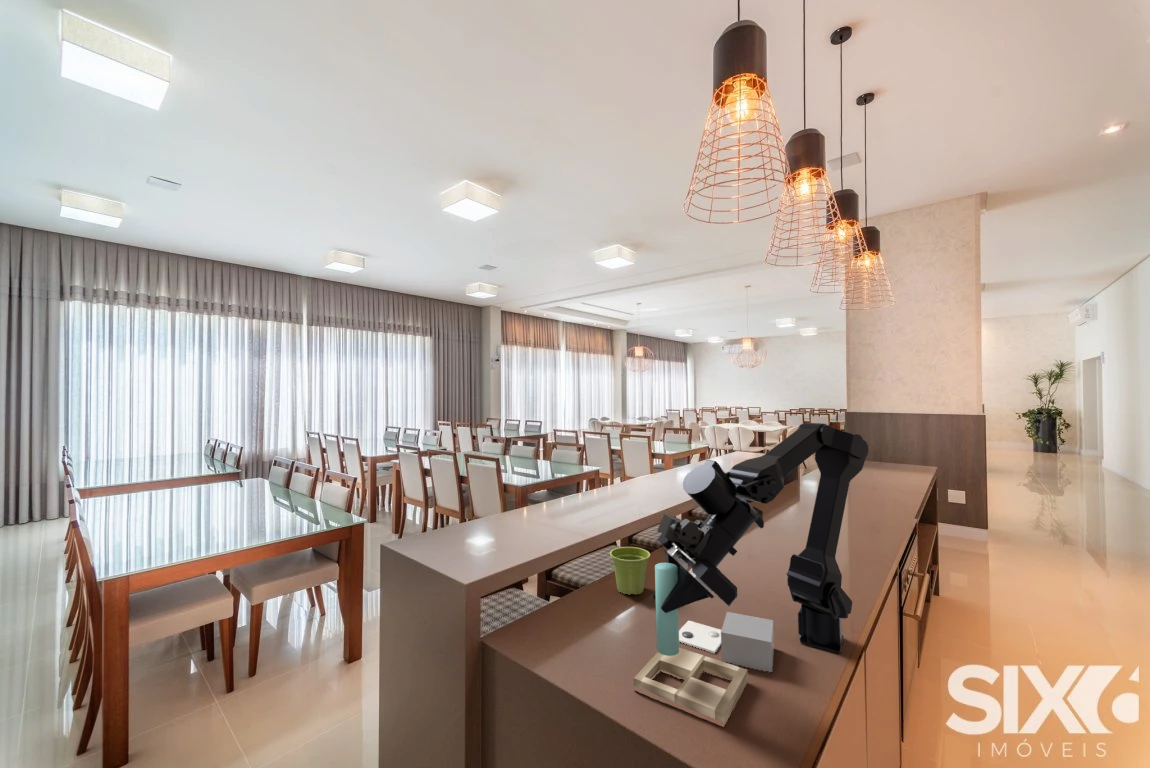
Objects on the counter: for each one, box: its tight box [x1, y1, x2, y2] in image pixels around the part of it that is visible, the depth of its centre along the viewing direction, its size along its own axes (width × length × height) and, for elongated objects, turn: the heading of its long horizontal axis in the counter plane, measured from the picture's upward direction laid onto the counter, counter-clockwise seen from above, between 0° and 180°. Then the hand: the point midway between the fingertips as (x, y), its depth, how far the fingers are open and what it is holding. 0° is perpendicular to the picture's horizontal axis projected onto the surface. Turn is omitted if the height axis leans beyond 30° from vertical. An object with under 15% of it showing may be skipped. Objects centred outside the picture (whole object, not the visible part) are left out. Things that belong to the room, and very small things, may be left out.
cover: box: [720, 611, 775, 673], centre depth 81 cm, size 8×8×5 cm
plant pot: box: [609, 546, 651, 596], centre depth 108 cm, size 9×9×9 cm
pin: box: [654, 562, 680, 656], centre depth 73 cm, size 4×4×13 cm
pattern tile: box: [679, 620, 722, 654], centre depth 87 cm, size 8×8×1 cm
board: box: [633, 647, 749, 723], centre depth 72 cm, size 14×12×2 cm
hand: (658, 605), depth 72 cm, fingers closed on pin, 3 cm apart
